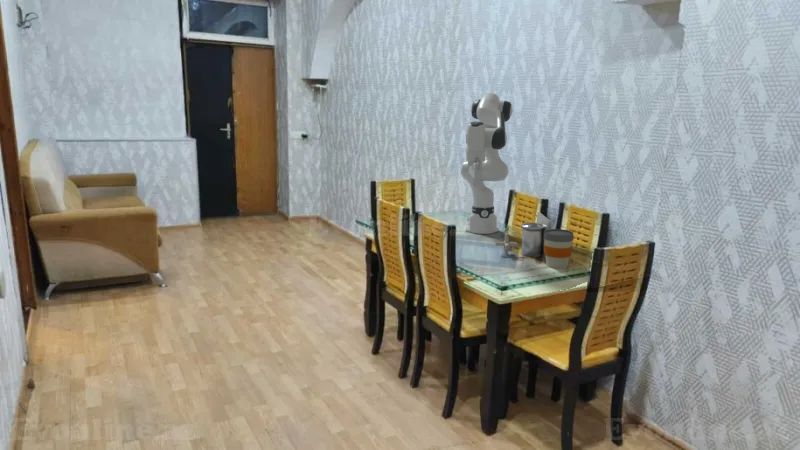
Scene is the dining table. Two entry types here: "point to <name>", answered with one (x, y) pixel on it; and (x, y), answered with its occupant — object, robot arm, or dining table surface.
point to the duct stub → (535, 236)
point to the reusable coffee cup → (558, 247)
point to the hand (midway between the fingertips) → (475, 186)
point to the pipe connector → (506, 244)
